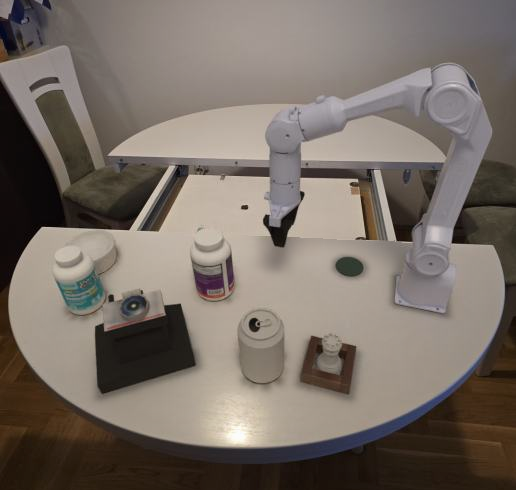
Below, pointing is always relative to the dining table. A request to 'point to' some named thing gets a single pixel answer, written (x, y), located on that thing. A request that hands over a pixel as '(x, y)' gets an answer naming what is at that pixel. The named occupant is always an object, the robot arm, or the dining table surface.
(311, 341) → the holder
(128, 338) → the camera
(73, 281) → the pill bottle
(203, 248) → the pill bottle
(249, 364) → the can
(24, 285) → the dining table surface
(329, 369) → the rook chess piece
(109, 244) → the ramekin
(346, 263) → the coaster
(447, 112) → the robot arm
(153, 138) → the dining table surface
